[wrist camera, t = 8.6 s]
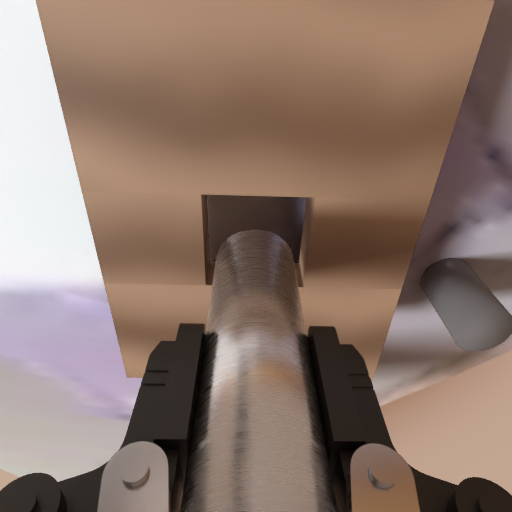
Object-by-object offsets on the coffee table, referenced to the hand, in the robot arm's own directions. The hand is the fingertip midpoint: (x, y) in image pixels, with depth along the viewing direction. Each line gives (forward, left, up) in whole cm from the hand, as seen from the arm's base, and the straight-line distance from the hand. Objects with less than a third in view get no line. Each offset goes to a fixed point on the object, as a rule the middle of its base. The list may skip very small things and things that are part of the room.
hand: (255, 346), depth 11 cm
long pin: (0, 0, -5) cm, 5 cm away
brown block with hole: (0, 0, -12) cm, 12 cm away
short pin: (+6, +13, -12) cm, 19 cm away
